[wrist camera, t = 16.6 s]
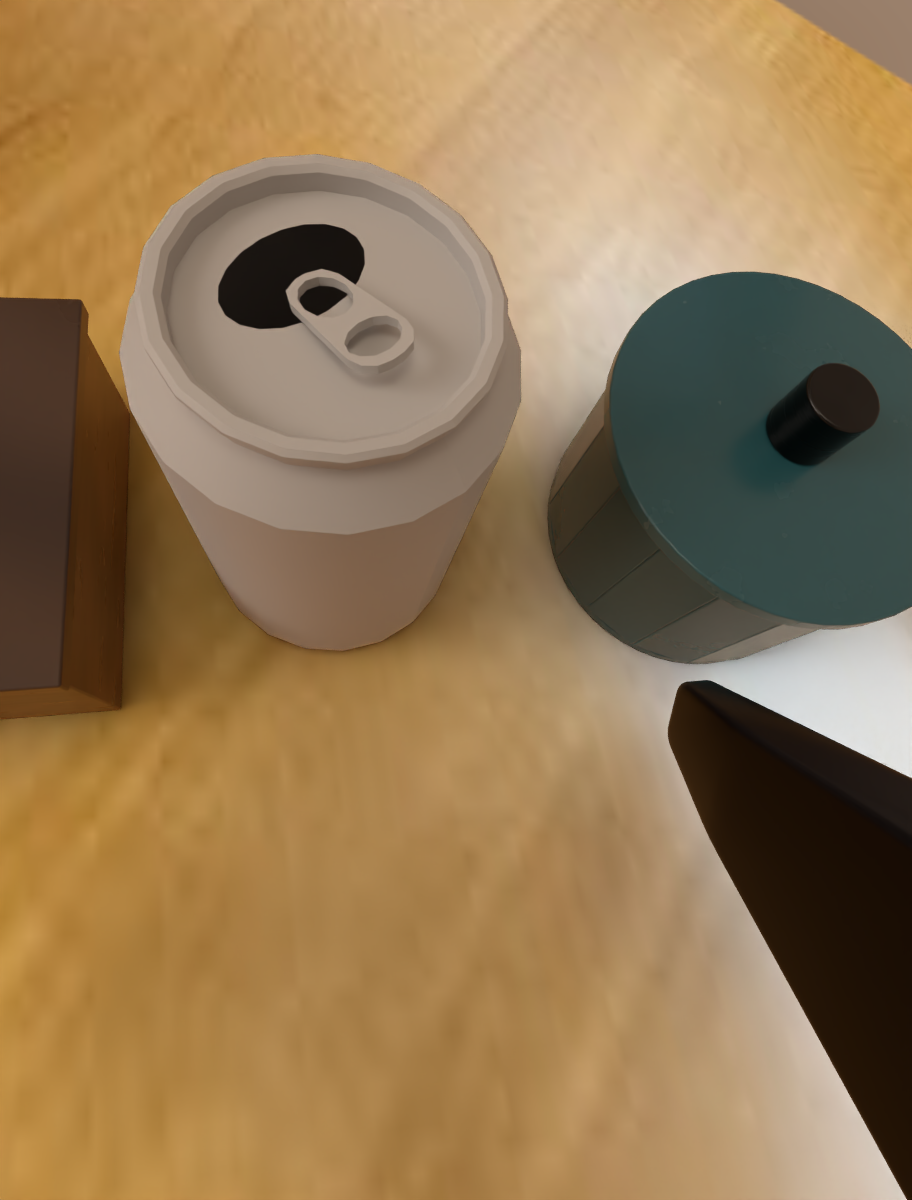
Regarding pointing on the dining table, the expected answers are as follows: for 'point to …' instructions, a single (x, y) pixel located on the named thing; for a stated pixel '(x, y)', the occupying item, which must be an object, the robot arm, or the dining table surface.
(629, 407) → the pot lid
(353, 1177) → the dining table surface
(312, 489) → the can
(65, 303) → the walnut box
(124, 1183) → the dining table surface
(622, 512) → the pot
